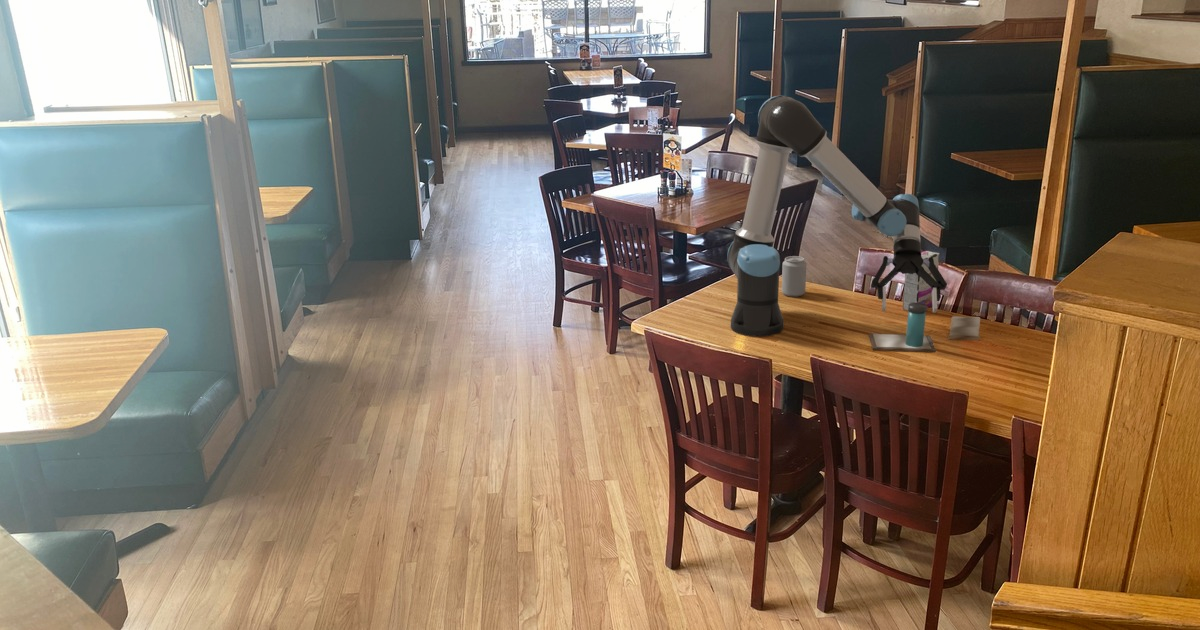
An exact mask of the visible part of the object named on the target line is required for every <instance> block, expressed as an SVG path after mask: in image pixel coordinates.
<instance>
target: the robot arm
mask: <svg viewBox="0 0 1200 630" xmlns="http://www.w3.org/2000/svg"><path fill="white" fill-rule="evenodd" d="M757 122H758V130H757V134H756V139H755V142H756V143H757V145H758V146H759V151H758V153H757V158H756V163H755V169H754V171H753V175H752V180H751V185H750V190H749V193H748V197H747V203H746V207H745V208H746V209H745V212H744V216H743V222H742V225H741V227H740V228H739V229H737V230H736V231H735V233H734V237H733V241H732V242H731V243H730V246H729V247H728V250H727V263H728V266H729V268H730V270H731V271H732V273H733V274H734V276H735V277H736V279H737V283H736V284H737V289H736V290H737V291H736V293H737V297H736V304H735V306H734V309H733V311H732V312H733V313H732V315H731V318H730V329H731V330H732V331H734V332H735V333H737V334H739V335H743V336H748V335H749V336H750V337H769V336H774V335H777V334H779V333H782V331H783V330H784V324H785V323H784V318H783V315H782V312H781V308H780V305H779V287H780V286H779V285H780V267H781V258H780V253H779V251H778V250H777V249H776V248H775V247H774V242H775V239H774V237H773V235H772V229H773V225H774V221H775V215H776V212H777V207H778V203H779V200H780V195H781V190H782V185H783V182H784V178H785V175H786V174H785V173H786V170H787V166H788V161H789V157H790V154H791V152H795V153H796V154H797V155H798V157H800V158H806V159H807V160H808V161H809V162H810V163H811V164H812V165H813V166H814V167H815V168H816V169H817V170H818V171H819V172H820V173H821V174H822V176H824V177H825V178H826V179H827V180H828V181H829V182H830V183H831V184H832V185H833V186H834V187H835V188H836V189H837V190H838V191H839V193H840V194H842V195H843V196H844V197H845V198H846V199H847V200H848V201H849V202H850V203H851V204H852V206H851V216H852V218H853V219H854V220H856V221H860V222H866V223H868V224H870V225H871V226H872V227H874V228H875V229H876V230H878V231H879V232H880V233H881V235H885V236H887V237H893V238H892V239H893V241H892V242H893V243H892V244H893V246H892V247H893V248H892V250H893V258H891V257H888V256H886V255H885V256H883V258H882V262H881V265H880V267H879V269H878V271H877V272H876V273H875V276H874V278H873V279H872V281H871V284H870V287H871V288H872V289H873V288H874V289H877V298H878V300H881V311H882V312H886V310H887V290H886V289H887V288H886V287H887V286H886V285H888V284H889V283H890V281H891V280H892V279H894V278H895V276H897V275H898V274H899V273H900V274H902V275H905V274H906V273H909V274H913V273H916V274H917V275H918V276H920V277H921V278H922V279H923V280H924V281H925V282H926V283H927V284H928V285H929V286H930V287H931V288H932V289H933V290H932V306H931V307H932V314H936V313H937V311H938V302H940V300H941V299H942V297H941V295H942V294H941V291H944V290H946V288H947V285H948V283H947V281H946V280H945V278H944V277H943V275H942V274H941V272H940V270H939V268H938V269H937V267H936V266H935V264H934V260H933V258H932V257H930V258H929V259H922V257H921V252H922V245H921V244H922V243H921V241H922V240H921V225H920V223H921V221H920V220H921V219H920V213H921V211H920V205H919V200H918V198H917V196H915V195H914V194H910V193H905V194H904V193H900V194H898V195H896V196H894V197H893V198H892V199H888V198H887V197H886V196H885V195H884V194H883V193H882V192H881V191H880V190H879V189H878V188H877V187H876V186H875V185H874V183H872V182H871V181H870V179H869V178H867V176H866V175H865V174H864V173H862V172H861V171H860V169H859V168H857V166H856V165H855V164H854V163H852V161H851V160H850V159H849V158H848V157H847V156H846V155H845V153H843V152H842V151H841V150H840V148H838V147H837V146H836V145H835V144H834V143H833V142H832V141H831V139H829V137H827V133H828V132H827V130H826V129H825V127H823V126H822V124H821V123H820V122H819V121H818V120H817V119H816V117H814V115H813V114H812V113H811V111H810V110H809V108H808V107H807V106H806V105H805V104H804V103H802V102H801V101H799V100H796V99H795V98H793V97H790V96H787V95H775V96H772V97H770V98H768V99H767V100H765V101H764V102H763V103H762V105H761V106H760V108H759V110H758V115H757ZM890 264H892V265H893V266H894V267H893V269H892V270H891V271H889V272H888V273H887V274H886V275H885V276H884V278H883V279H881V277H882V275H883V274H884V272H885V271H886V268H887V267H888V266H890ZM922 264H925V265H926V267H928V268H929V270H930V272H931V274H932V275H933V277H934V278H935V280H936V281H937V282H936V281H935V280H934V279H933V278H932V277H931V276H930V275H929V274H928V273H927V272H926V271H925V270H924V268H923V267H922ZM880 279H881V280H880Z"/></svg>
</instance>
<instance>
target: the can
mask: <svg viewBox="0 0 1200 630" xmlns="http://www.w3.org/2000/svg"><path fill="white" fill-rule="evenodd" d="M805 260H806V258H805V257H804V256H803V257H802V256H798V255H792V256H791V255H790V256H786V257H785V258H784V261H782V266H781V271H782V272H781V293H782V294H783V295H785V296H787V297H792V298H795V297H796V298H798V297H802V296H803V295H804V294H805V293H806V283H807V265H808V263H807V262H806V261H805Z"/></svg>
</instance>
